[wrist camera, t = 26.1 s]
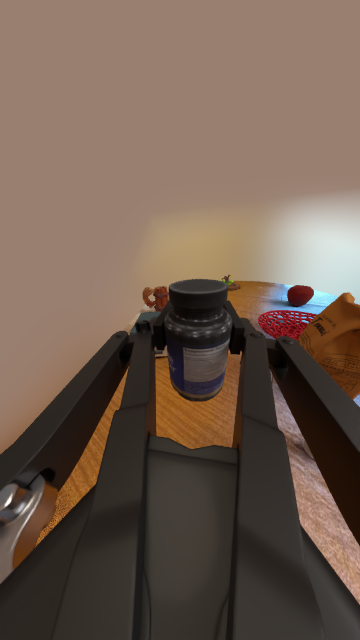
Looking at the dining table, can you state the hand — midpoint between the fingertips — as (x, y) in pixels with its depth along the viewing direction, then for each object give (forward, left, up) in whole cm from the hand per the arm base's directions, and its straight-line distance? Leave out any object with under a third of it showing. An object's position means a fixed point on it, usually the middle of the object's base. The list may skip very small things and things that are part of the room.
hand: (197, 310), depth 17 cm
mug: (-41, +39, -24) cm, 61 cm away
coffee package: (+21, +19, -24) cm, 37 cm away
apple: (+26, +80, -24) cm, 87 cm away
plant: (-19, +108, -24) cm, 112 cm away
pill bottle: (+2, -5, -7) cm, 8 cm away
